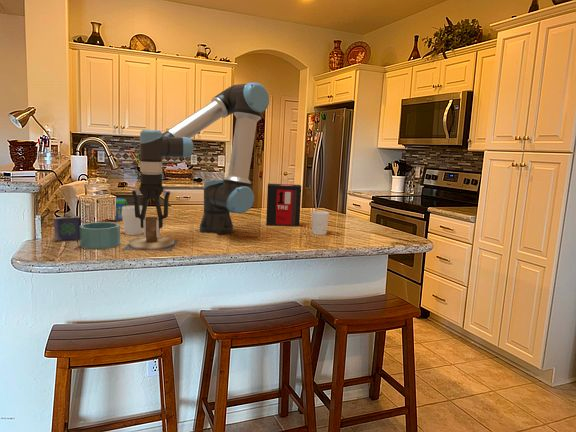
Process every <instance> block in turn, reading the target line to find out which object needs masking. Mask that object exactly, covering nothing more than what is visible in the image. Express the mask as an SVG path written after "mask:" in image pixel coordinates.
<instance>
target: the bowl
mask: <svg viewBox="0 0 576 432" xmlns="http://www.w3.org/2000/svg"><path fill="white" fill-rule="evenodd" d="M79 227H80V240H79V246H80V248H83V249H88V250H104V249H111V248H116V247H118V246H120V245H121V224H119V223H117V222H112V221H106V222H105V221H100V222H99V221H95V222H88V223H82V224H81V226H79Z"/></svg>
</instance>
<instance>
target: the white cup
mask: <svg viewBox="0 0 576 432" xmlns="http://www.w3.org/2000/svg"><path fill="white" fill-rule="evenodd" d="M329 217H330V212H328V211H323V210H313V211H312V212H311V234H312V235H315V236H317V235H319V236H325V235H327V233H328V228H329V227H328V225H329Z"/></svg>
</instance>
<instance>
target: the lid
mask: <svg viewBox="0 0 576 432" xmlns="http://www.w3.org/2000/svg"><path fill="white" fill-rule="evenodd" d="M145 219H146V237H144V236H141V237H137V238H133V239H131V240H129V241H128V244H129V246H130V247H131V248H134V249H140V250H139V251H143V250H158V249H165V248H169V247H172V246H173V245H174V240H175V239H172V238H170V237H164V236H163V237H162V236H159V238H157V237H156V220H157V219H158V216H145Z"/></svg>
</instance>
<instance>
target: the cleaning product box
mask: <svg viewBox="0 0 576 432" xmlns="http://www.w3.org/2000/svg"><path fill="white" fill-rule="evenodd" d="M266 195H267V198H266V199H267V200H266V218H265V219H266V222H265V226H271V227H273V226H274V227H276V226H278V227H299V228H300V224H301V223H300V222H301V221H300V220H301V206H302V205H301V204H302V203H301V201H302V185H301V184H292V183H291V184H290V183H267V194H266Z"/></svg>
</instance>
